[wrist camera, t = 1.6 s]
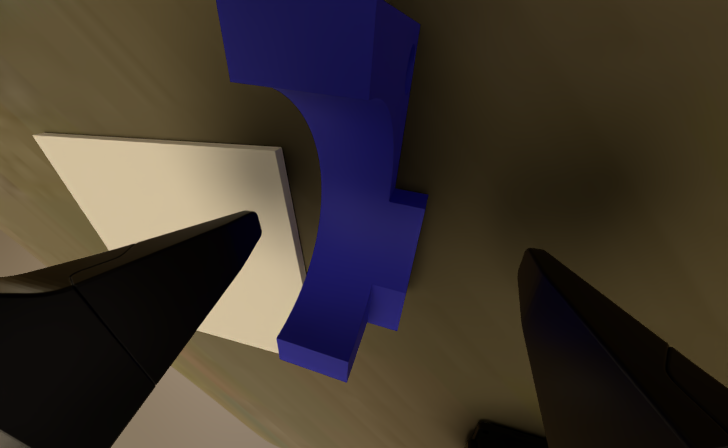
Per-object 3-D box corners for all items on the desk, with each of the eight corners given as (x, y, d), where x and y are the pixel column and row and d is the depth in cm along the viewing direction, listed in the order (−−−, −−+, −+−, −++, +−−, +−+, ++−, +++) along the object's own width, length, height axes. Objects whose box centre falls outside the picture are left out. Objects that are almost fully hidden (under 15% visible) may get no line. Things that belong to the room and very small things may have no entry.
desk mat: (281, 147, 13) (274, 151, 12) (322, 357, 22) (319, 364, 21) (44, 132, 17) (32, 135, 17) (160, 313, 26) (154, 318, 26)
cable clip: (406, 287, 15) (382, 395, 11) (333, 267, 16) (280, 358, 12) (467, 28, 9) (477, 2, 4) (336, 18, 10) (213, -13, 5)
